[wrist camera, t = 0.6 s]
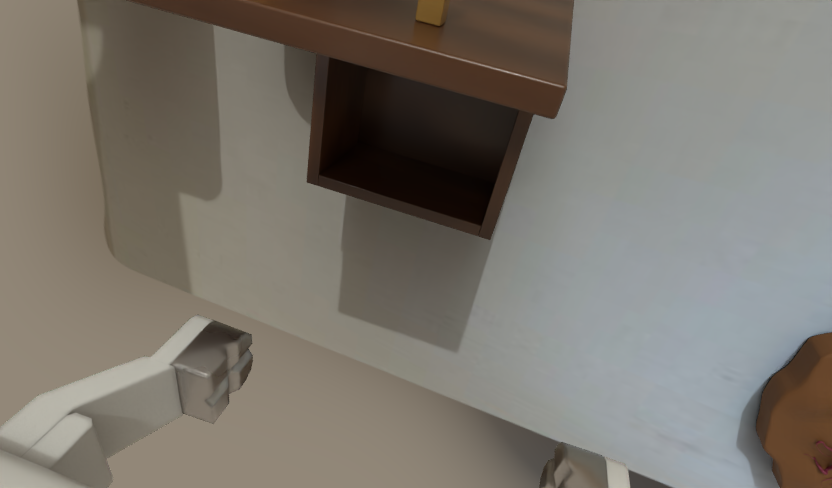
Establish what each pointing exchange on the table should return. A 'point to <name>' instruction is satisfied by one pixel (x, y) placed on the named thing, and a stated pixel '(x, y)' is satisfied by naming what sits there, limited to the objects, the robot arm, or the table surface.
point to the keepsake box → (413, 145)
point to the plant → (800, 417)
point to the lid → (420, 40)
